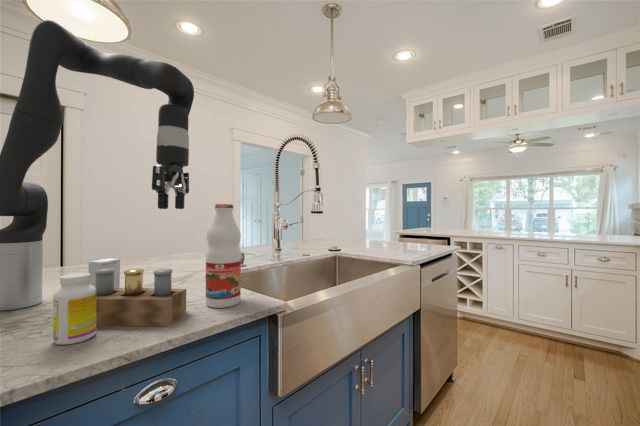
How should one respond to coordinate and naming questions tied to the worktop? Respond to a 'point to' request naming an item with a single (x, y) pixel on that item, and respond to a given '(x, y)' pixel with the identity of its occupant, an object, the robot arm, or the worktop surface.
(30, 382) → the worktop surface
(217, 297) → the fruit juice
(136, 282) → the plug mid
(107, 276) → the plug
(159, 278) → the plug
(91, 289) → the supplement bottle
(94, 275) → the skincare box
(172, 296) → the socket block
